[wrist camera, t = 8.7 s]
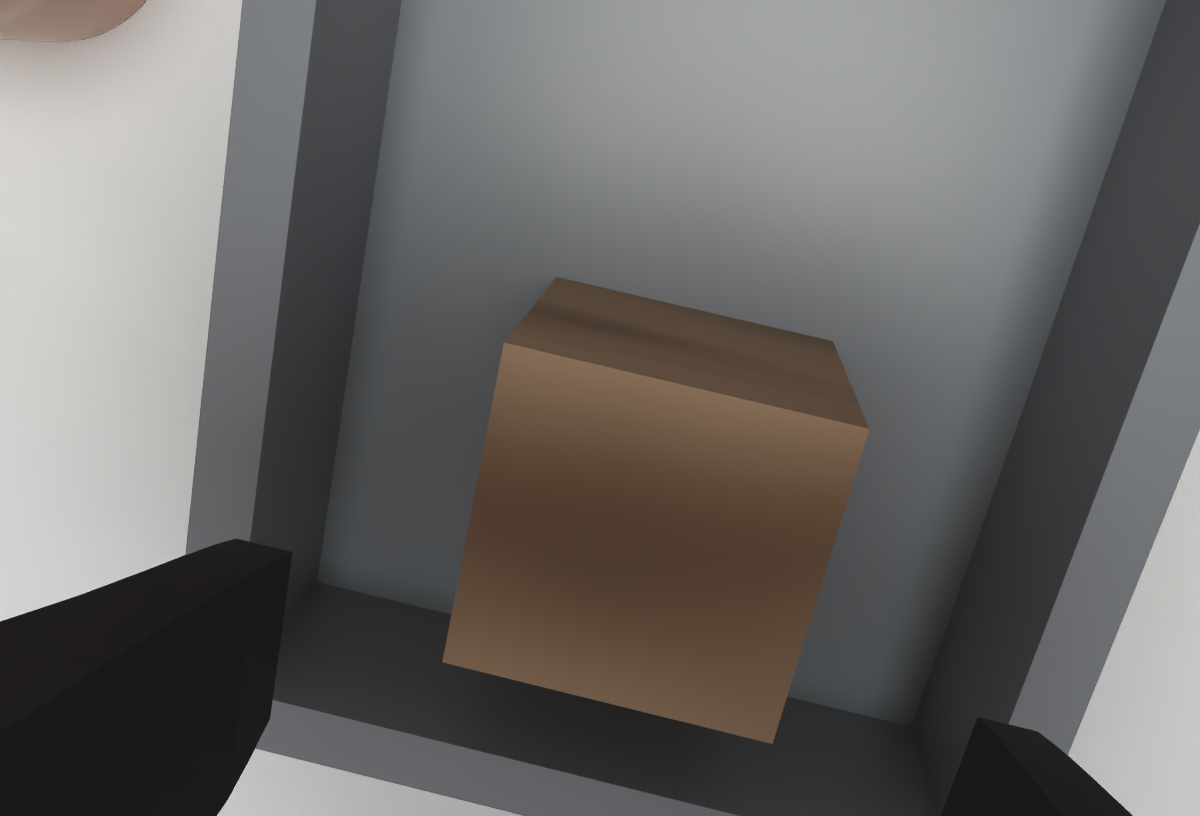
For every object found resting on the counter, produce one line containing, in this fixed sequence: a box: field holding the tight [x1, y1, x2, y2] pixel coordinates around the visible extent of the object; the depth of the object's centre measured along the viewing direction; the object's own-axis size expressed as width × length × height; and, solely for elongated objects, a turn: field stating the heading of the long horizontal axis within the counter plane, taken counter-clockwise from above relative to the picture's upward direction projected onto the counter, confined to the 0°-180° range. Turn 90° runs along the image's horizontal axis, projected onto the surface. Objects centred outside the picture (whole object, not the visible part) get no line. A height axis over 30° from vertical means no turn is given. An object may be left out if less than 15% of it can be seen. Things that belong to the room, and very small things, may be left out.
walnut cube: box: [442, 277, 869, 744], centre depth 18 cm, size 5×5×5 cm
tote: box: [186, 0, 1200, 816], centre depth 18 cm, size 18×14×5 cm
